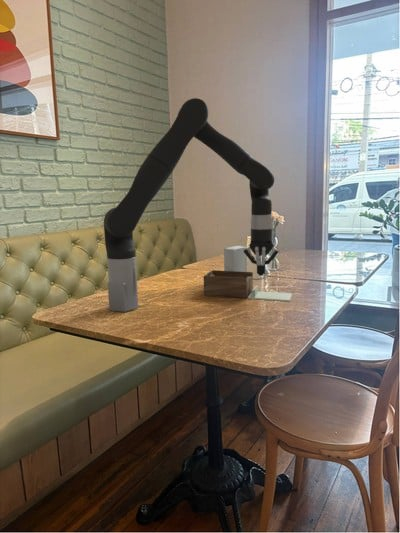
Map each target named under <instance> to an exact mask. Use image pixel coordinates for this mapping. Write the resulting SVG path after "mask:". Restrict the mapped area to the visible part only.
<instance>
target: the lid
mask: <svg viewBox="0 0 400 533" xmlns="http://www.w3.org/2000/svg"><path fill="white" fill-rule="evenodd" d="M253 286H254V287H253V289H252V293H251V294H250V295H249V296H248V297H247V299H248V300H250V299H251V300H262V301H277V302H279V301H280V302H291V299H292V296H293V292H280V291H279V292H277V291H276V292H275V291H259V285H258V284H256V285H253Z"/></svg>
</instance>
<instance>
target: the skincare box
mask: <svg viewBox="0 0 400 533" xmlns="http://www.w3.org/2000/svg"><path fill="white" fill-rule="evenodd" d="M247 248H248V247H247V246H244V245H233V246H230V247H224V248H223V262H224V263H223V264H224V265H223V268H224V269H223V271H239V272H248V267H247V266H248V257H247V256H246V254H245V253H244V250H245V249H247Z"/></svg>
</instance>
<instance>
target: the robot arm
mask: <svg viewBox="0 0 400 533" xmlns="http://www.w3.org/2000/svg"><path fill="white" fill-rule="evenodd" d="M209 113H210V111H209V108H208V104H206V102H205V101H204V100H203V99H200V98H199V97H198V98H197V97H196V98H195V97H194V98H190V99H187V100H186V101H185V102H184V103H183V104H182V105H181V107H180V109H179V110H178V113H177V116H176V118H175V119H174V122H173V124H171V126H170V128H169V130H168V131H167V132H166V133H165V134H164V136H163V137H162V138H161V139H160V140H159V141H158V142H157V143H156V145H155V146H154V147H153V148H152V150H151V151H150V152H149V153H148V155H147V156H146V158H144V160H143V162H142V164H141V165H140V167H139V169H138V170H137V172H136V175H135V176H134V179H133V181H132V183H131V187H130V188H129V189H128V192H127V193H126V194H125V196H124V198H122V200H121V201H120V202H119V203H118V204H117V206H115V207H113V208H110V209H109V210H107V212H106V213H105V215H104V217H103V230H104V231H103V232H104V244H105V249H106V250H105V251H106V258H107V259H106V260H107V274H108V276H107V277H108V279H107V280H108V282H107V295H108V296H107V297H108V310H109V311H112V312H123V313H126V312H128V311H133V310H136V309H138V308H139V294H138V278H137V277H138V276H137V273H138V272H137V255H136V254H137V252H136V247H135V242H134V236H133V234H134V231H135V229H136V227H137V226H138V223H139V221H140V220H141V218H142V216H143V214H144V212H145V210H146V208H147V207H148V205H149V204H150V203H151V201H153V199H154V198H155V197H156V195H157V194H158V192H159V191H160V190H161V189H162V187H163V186H164V184H165V183H166V182H167V181H168V179H169V177H170V176H171V175H172V173H173V171H174V170H175V168H176V167H177V164H178V163H179V161H180V159H181V157H183V154H184V152H185V150H186V148H187V146H188V145H189V143H190V142H191V140H193V138H195V139H196V140H197V141H199V142H201V143H202V144H204V145H205V146H206V147H208V148H209V149H210V150H212V151H213V152H214V153H215V154H217V156H219V157H220V158H221V159H222V160H224V161H225V163H227V164H228V165H229V166H230V167H231V168H232V169H233V170H235V171H236V172H237V173H238V174H240V175H242V176H244V177H245V178H246V179H248V180H249V194H250V199H251V200H250V201H251V209H250V210H251V213H250V214H251V218H250V243H249V245H248V247H247V249H245V250H244V253H245V254H246V256H247V259H248V260H249V261H250V262H251V263H252V264H254V265H256V274H258V276H264V275H265V273H266V265H270V263H271V262H272V261H273V260H274V258H275V257H277V255H278V254H279V252H280V250H279V249H277V248H275V247H274V244H273V218H272V217H273V215H272V213H273V212H272V209H273V208H272V206H273V204H272V199H271V198H270V194H269V189H271V188H273V186H274V183H275V177H274V174H273V172H272V171H271V170H270V169H269V168H268V167H267V166H265V165H263V164H262V163H261V162H259V161H258V160H256V159H255V158H254V157H253V156H252V155H251V154H250V153H249V152H247V151H246V149H244V148H243V147H242V146H241V145H240V144H238V143H237V142H236V141H234V140H232V139H231V138H229V137H227V136H225V135H224V134H222V133H221V132H219V131H218V130H216V128H214V127H213V126H212V125H211V124H210V123H209V121H208V119H209ZM252 252H253V254H254V255H255V257H254V255H253V254H252ZM270 252H271V255H270V257H268V255H269V254H270ZM267 257H268V259H267Z"/></svg>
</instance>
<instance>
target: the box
mask: <svg viewBox="0 0 400 533" xmlns="http://www.w3.org/2000/svg"><path fill="white" fill-rule="evenodd" d="M253 276H254V272H253V271H247V272H239V271H224V270H217V269H214V270H213V269H212V270H210V271H209V272H207V273H206V274H205V275H203V296H204V297H218V298H233V299H248V297H249V296H250V294H251V293H252V289H253V288H254V287H253V286H254V284H253V283H254V279H253Z"/></svg>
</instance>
